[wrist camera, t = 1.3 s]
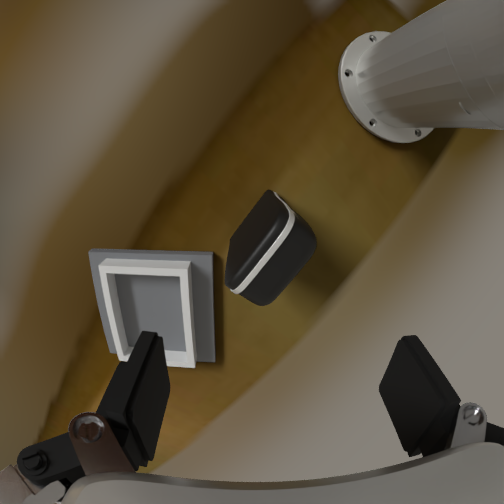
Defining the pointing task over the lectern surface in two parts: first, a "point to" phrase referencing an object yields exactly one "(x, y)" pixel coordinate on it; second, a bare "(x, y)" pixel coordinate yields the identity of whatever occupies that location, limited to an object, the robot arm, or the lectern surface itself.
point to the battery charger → (268, 250)
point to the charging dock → (157, 301)
